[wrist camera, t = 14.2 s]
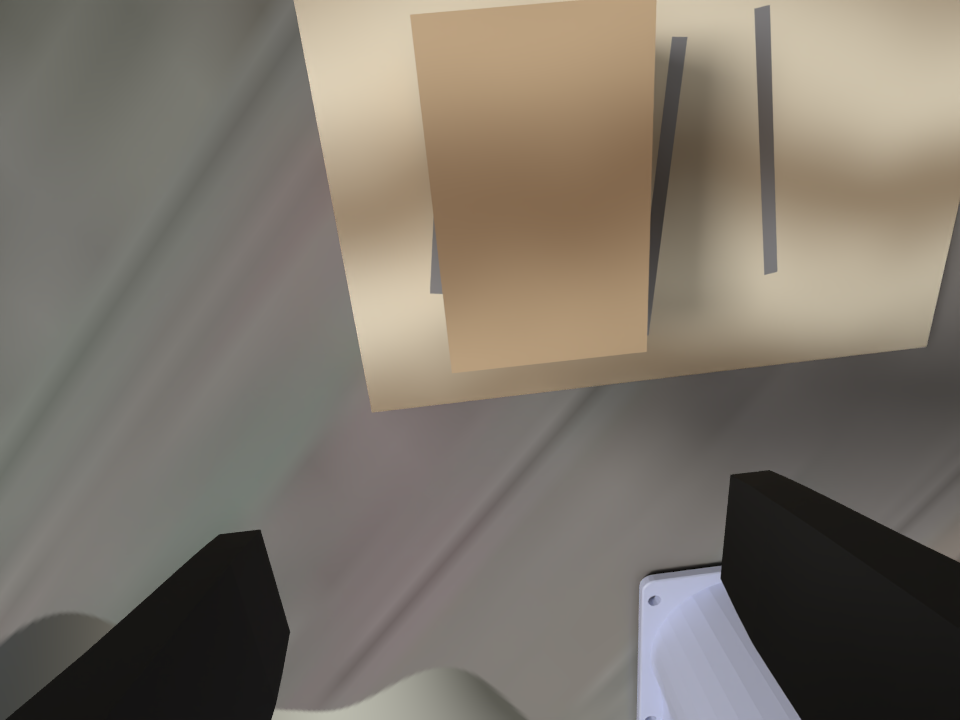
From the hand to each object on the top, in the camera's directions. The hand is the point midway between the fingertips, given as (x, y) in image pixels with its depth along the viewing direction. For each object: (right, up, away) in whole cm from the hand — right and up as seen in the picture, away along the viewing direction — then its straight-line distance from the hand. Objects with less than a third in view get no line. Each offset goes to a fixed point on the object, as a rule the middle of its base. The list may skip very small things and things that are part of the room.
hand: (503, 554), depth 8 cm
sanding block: (+1, +8, +6) cm, 10 cm away
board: (+5, +8, +8) cm, 12 cm away
